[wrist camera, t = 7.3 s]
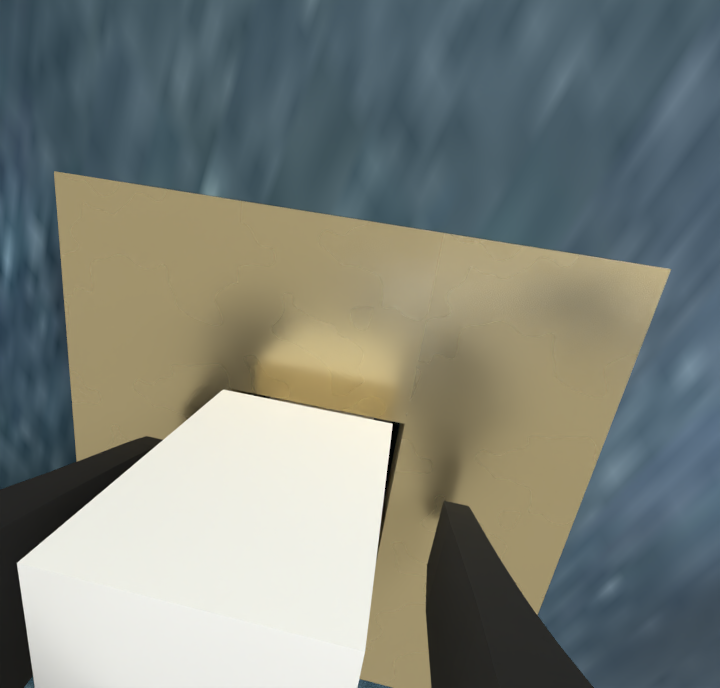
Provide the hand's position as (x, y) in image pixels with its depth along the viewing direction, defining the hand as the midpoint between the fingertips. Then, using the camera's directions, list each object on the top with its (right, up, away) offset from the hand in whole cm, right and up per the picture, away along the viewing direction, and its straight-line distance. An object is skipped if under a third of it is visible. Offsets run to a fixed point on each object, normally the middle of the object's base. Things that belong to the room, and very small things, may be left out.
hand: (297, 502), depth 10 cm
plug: (0, +1, +3) cm, 3 cm away
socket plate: (0, +1, +3) cm, 3 cm away
